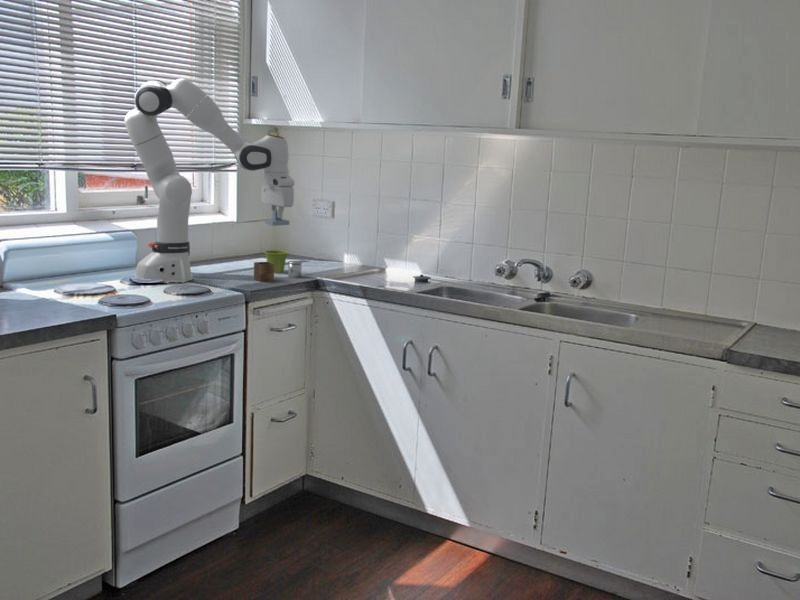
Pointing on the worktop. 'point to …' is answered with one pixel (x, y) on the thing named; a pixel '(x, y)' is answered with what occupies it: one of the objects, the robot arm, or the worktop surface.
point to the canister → (263, 271)
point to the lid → (276, 220)
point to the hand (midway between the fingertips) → (277, 217)
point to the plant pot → (277, 259)
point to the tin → (294, 269)
